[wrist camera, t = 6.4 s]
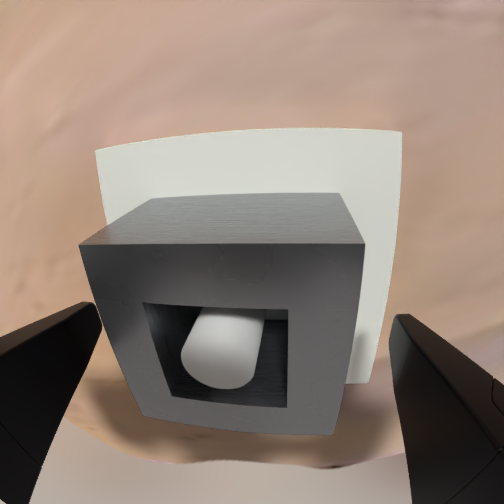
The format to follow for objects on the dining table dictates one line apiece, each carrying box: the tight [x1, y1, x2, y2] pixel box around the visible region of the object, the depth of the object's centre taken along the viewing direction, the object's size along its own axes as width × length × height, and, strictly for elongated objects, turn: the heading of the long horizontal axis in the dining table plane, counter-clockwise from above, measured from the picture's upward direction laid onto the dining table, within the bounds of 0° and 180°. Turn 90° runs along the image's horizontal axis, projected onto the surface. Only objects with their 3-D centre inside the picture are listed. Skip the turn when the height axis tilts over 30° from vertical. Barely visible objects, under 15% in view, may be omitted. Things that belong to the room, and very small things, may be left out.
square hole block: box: [79, 193, 365, 435], centre depth 9 cm, size 6×6×4 cm
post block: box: [95, 128, 402, 389], centre depth 9 cm, size 10×10×5 cm
